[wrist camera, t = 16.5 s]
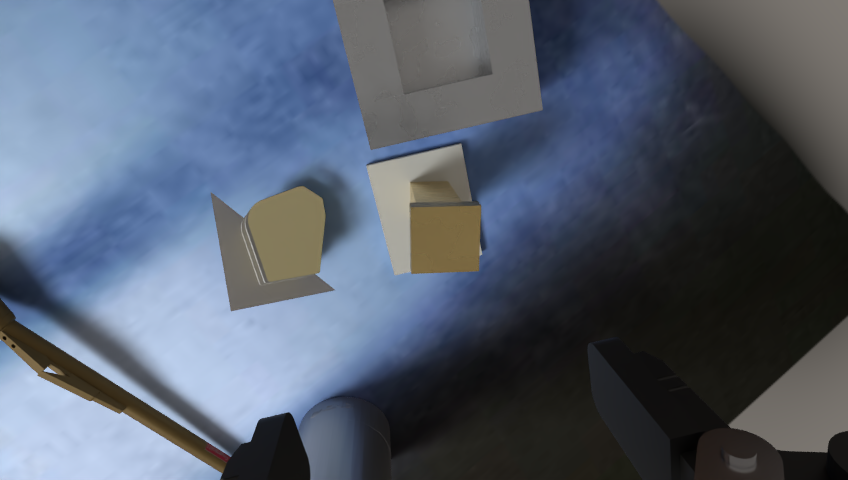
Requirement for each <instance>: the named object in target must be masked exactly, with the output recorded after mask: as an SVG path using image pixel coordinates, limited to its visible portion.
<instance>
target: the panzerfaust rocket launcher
mask: <svg viewBox="0 0 848 480" xmlns="http://www.w3.org/2000/svg"><path fill="white" fill-rule="evenodd" d="M15 319H16V317H15V316H14V314H13V312H11V311H10V309H9V308H8V307H7V306H6V305H5V303H4V302H3V301H2V300H1V299H0V340H2V341H4V342H5V343H6V344H7V345H8V346H9V347H10V348H11V349H12V350H13V351H14V352H15V353H16V354H17V355H18V356H20V357H21V358H22V359H23V360H24V361H25V362H26V363H27V364H28V365H29V366H30V367H31V368H32V369H33V370H35V371H36V372H37V373H38V375H37V376H40V377H42V378H44V379H46V380H48V381H50V382H52V383H54V384H56V385H58V386H60V387H62V388H64V389H66V390H68V391H70V392H72V393H74V394H76V395H78V396H80V397H82V398H84V399H86V400H88V401H92V400H93V401H95V402H97V403H99V404H101V405H103V406H105V407H107V408H109V409H111V410H113V411H115V412H117V413H119V414H120V413H121V412H123V413H125V414H127V415H128V416H130V417H132V418H133V419H135V420H136V421H138V422H140V423H141V424H143V425H145V426H146V427H148V428H149V429H151V430H153V431H154V432H156V433H158V434H159V435H161V436H162V437H164V438H166V439H167V440H169V441H171V442H172V443H174V444H175V445H177V446H179V447H180V448H182V449H184V450H185V451H187V452H188V453H190V454H192V455H193V456H195V457H197V458H198V459H200V460H201V461H203V462H205V463H206V464H208V465H210V466H211V467H213V468H214V469H216V470H218V471H219V472H221V473H223V471H224V469H225V466H226V464H227V461H228V460H229V459H230V458H231V457H230V456H228V455H227V454H225V453H223V452H222V451H220V450H219V449H217V448H216V447H214V446H212V445H211V444H209V443H208V442H206V441H205V440H203V439H201V438H200V437H198V436H197V435H195V434H194V433H192V432H190V431H189V430H187V429H186V428H184V427H182V426H181V425H179V424H178V423H176V422H175V421H173V420H171V419H170V418H168V417H167V416H165V415H164V414H162V413H160V412H159V411H157V410H156V409H154V408H153V407H151V406H149V405H148V404H146V403H145V402H143V401H141V400H140V399H138V398H137V397H135V396H134V395H132V394H130V393H129V392H127V391H126V390H124V389H123V388H121V387H119V386H118V385H116V384H115V383H113V382H112V381H110V380H108V379H107V378H105V377H104V376H102V375H100V374H99V373H97V372H96V371H94V370H93V369H91V368H89V367H88V366H86V365H85V364H83V363H82V362H80V361H78V360H77V359H75V358H74V357H72V356H71V355H69V354H67V353H66V352H64V351H63V350H61V349H59V348H58V347H56V346H55V345H53V344H52V343H50V342H48V341H47V340H45V339H44V338H42V337H41V336H39V335H37V334H36V333H34V332H33V331H31V330H30V329H28V328H26V327H25V326H23V325H22V324H20V323H18V322H17V321H15ZM47 367H49V368H50V369H52V370H53V371H54V372H56V373H57V374H54V373H49V372H44V370H45V369H46V368H47ZM58 374H59V375H58Z"/></svg>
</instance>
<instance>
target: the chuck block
mask: <svg viewBox="0 0 848 480" xmlns="http://www.w3.org/2000/svg"><path fill="white" fill-rule="evenodd" d="M333 3H334V7H335V10H336V14H337V18H338V22H339V26H340V30H341V34H342V38H343V42H344V46H345V50H346V54H347V58H348V62H349V66H350V70H351V74H352V78H353V82H354V85H355V89H356V93H357V97H358V101H359V105H360V109H361V113H362V117H363V121H364V125H365V129H366V133H367V137H368V141H369V145H370V149H371V150H373V149H377V148H381V147H386V146H390V145H394V144H399V143H403V142H407V141H411V140H416V139H420V138H424V137H429V136H433V135H437V134H442V133H446V132H450V131H455V130H459V129H463V128H468V127H472V126H476V125H480V124H485V123H489V122H493V121H498V120H502V119H506V118H511V117H515V116H519V115H524V114H528V113H532V112H536V111H541V110H543V108H542V100H541V92H540V84H539V76H538V68H537V60H536V53H535V45H534V37H533V29H532V21H531V13H530V5H529V0H333Z"/></svg>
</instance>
